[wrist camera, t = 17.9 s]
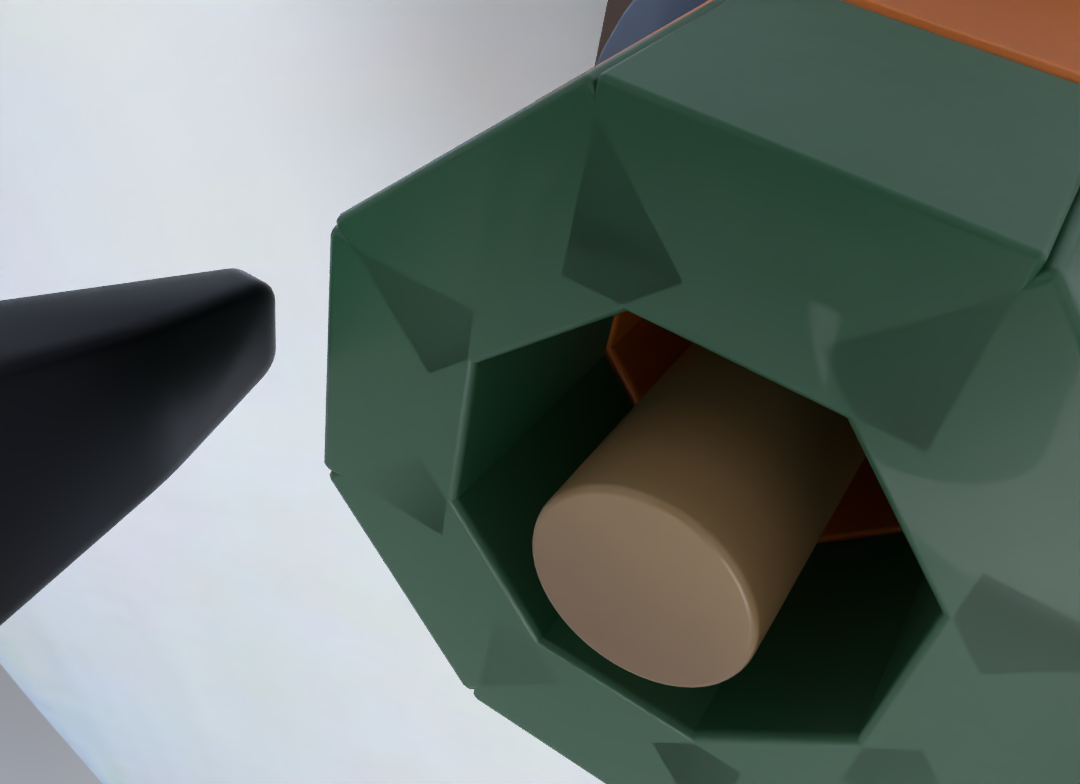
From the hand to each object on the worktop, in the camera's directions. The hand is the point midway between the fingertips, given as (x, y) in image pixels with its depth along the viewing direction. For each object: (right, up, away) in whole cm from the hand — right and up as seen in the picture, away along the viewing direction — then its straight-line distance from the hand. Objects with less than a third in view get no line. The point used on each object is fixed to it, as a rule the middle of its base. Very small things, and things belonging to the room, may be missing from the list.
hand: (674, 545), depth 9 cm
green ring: (+1, +2, +2) cm, 3 cm away
